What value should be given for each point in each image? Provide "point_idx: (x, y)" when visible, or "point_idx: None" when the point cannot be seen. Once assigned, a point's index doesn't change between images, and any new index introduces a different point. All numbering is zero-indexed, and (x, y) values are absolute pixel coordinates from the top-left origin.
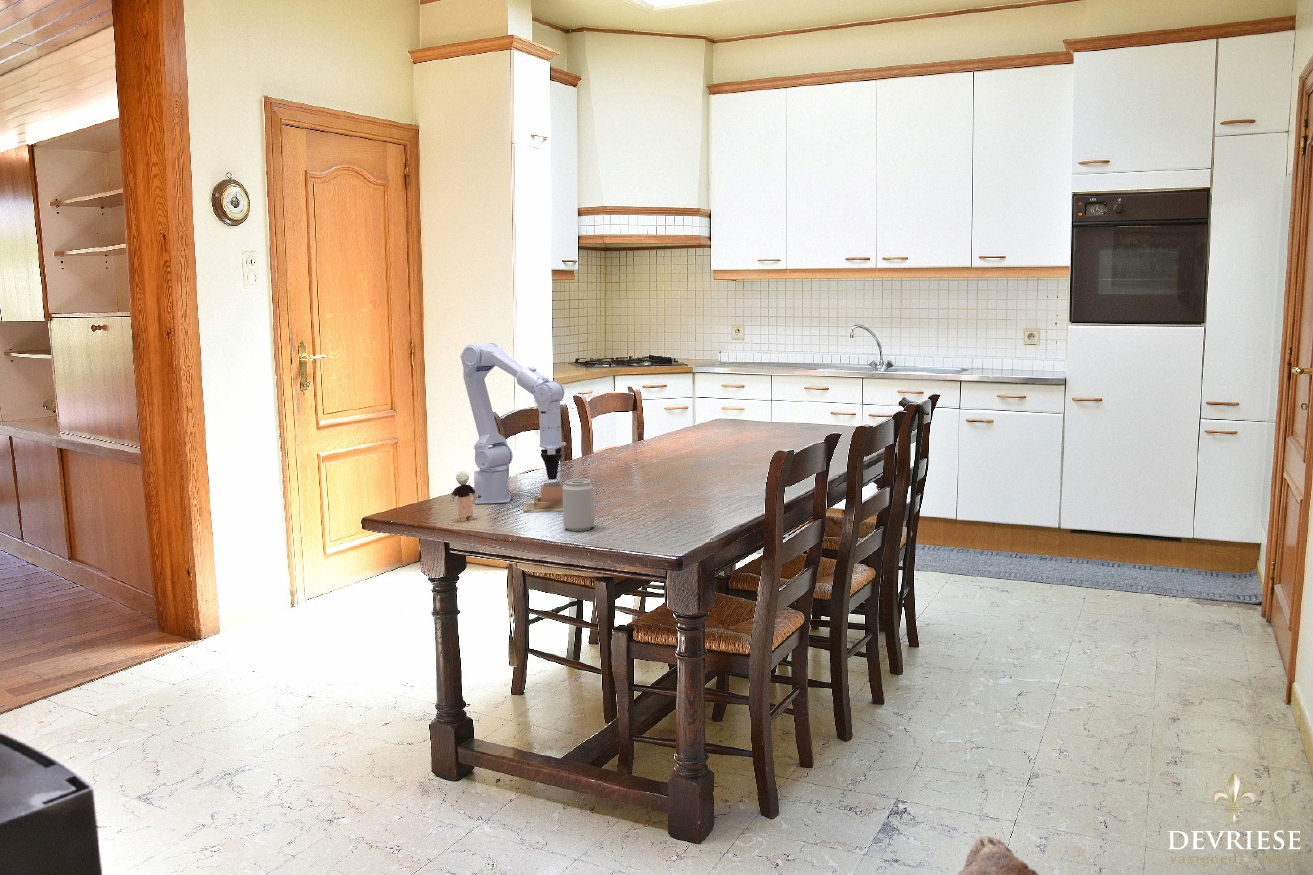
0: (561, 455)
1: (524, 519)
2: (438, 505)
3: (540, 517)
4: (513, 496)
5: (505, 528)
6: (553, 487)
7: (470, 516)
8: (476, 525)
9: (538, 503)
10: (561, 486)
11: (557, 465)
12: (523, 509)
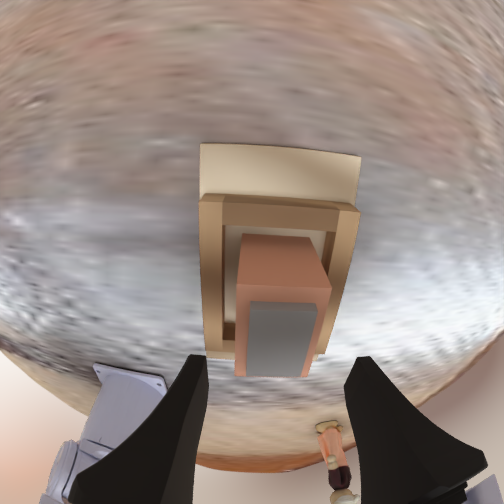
0: (484, 460)
1: (399, 346)
2: None
3: (402, 312)
4: (79, 352)
5: (445, 365)
6: (320, 332)
7: (333, 428)
8: None
9: (327, 339)
10: (326, 297)
11: (426, 420)
12: None
